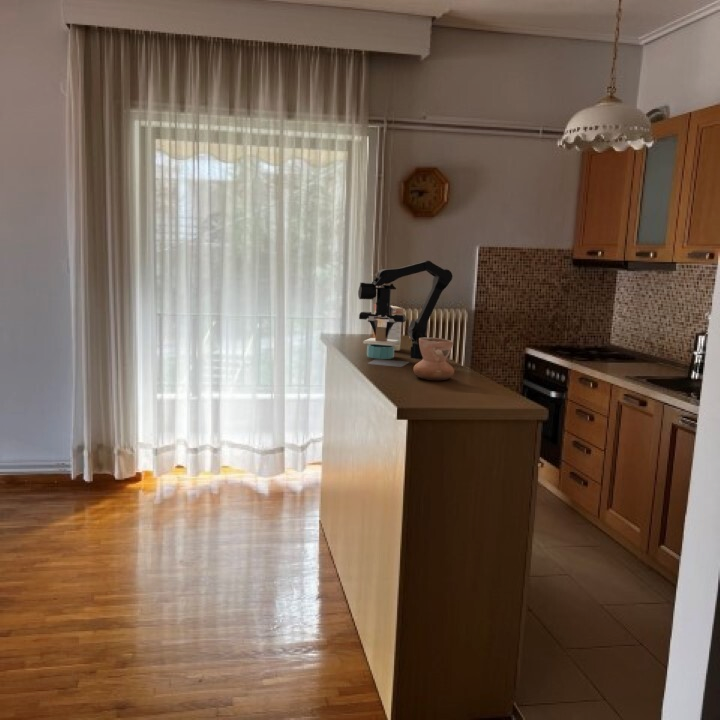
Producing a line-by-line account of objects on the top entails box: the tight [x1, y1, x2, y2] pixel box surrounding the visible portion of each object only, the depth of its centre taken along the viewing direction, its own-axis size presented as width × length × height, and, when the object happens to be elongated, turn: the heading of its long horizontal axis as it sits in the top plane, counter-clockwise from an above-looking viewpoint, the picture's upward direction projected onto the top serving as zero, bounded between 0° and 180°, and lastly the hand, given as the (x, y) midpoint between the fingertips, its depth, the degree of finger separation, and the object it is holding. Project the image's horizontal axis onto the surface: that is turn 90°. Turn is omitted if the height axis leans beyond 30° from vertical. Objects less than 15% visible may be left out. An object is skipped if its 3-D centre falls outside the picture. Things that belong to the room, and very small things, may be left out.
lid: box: [362, 327, 399, 346], centre depth 294 cm, size 12×12×6 cm
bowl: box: [366, 344, 395, 360], centre depth 295 cm, size 11×11×5 cm
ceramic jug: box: [413, 336, 455, 382], centre depth 251 cm, size 18×14×14 cm
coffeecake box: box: [372, 304, 403, 352], centre depth 323 cm, size 15×7×20 cm, turn 25°
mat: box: [366, 358, 410, 368], centre depth 280 cm, size 14×14×1 cm
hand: (381, 337), depth 294 cm, fingers closed on lid, 4 cm apart
